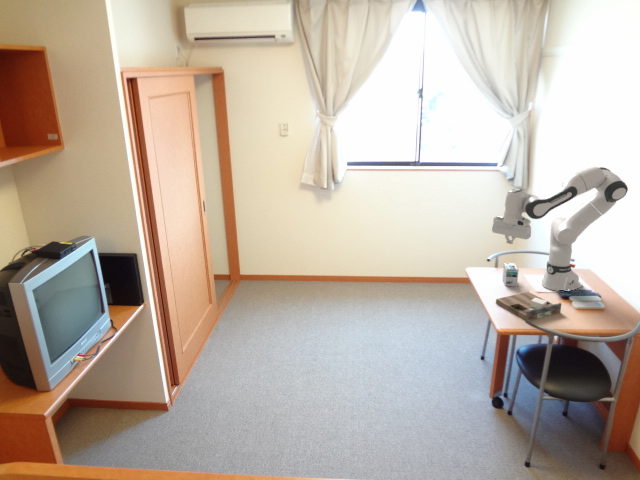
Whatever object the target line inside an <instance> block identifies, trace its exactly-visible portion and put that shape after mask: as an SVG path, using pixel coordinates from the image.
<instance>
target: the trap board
mask: <svg viewBox="0 0 640 480" xmlns="http://www.w3.org/2000/svg"><path fill="white" fill-rule="evenodd" d="M534 298H539V299H542V300H545V299H543V298H541V297H539V296H537V295H536V294H534V293H532V292H530V291H524V292H521V293H516V294H511V295H508V296H504V297H500V298H496V299H495V304H496V305H498V306H500V307H502V308H503V309H505V310H507V311H508V312H510V313H512V314H514V315H516V316H517V317H519V318H521V319H522V320H524V321H526V320H530V321H533V320H537V319H540V318H544V317H548V316H553V315H556V314H559V313H561V312H562V311H561V309H562V302H558V303H554V304H553V303H551V302H550V301H547V300H545V301H547V305H546V307H542V308H538V309H536V308H533V307H530V305H531V300H533V299H534Z"/></svg>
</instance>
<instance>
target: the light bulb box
mask: <svg viewBox="0 0 640 480" xmlns="http://www.w3.org/2000/svg"><path fill="white" fill-rule="evenodd" d="M518 277H519V267H518V266H517V264H516V263H515V262H504V263H503V270H502V282H503V284H504V286H505V287H517V286H518Z"/></svg>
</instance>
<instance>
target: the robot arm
mask: <svg viewBox="0 0 640 480" xmlns="http://www.w3.org/2000/svg"><path fill="white" fill-rule="evenodd" d="M593 189H595V190H596V191H597V192H596V193H595V194H594V195H592V196H591V197H589V198H588V199H586V200H585V201H584V202H582V203H581V204H580V205H579V206H577V207H576V208H575V209H574V210H573V211H572V213H571V214H570V215H569V216H568V217H567V218H565V217H556V218H555V219H554V220H553V221H552V222H551V225H550V236H549V237H550V238H549V252H548V260H547V262H546V268H545V272H544V274H543V278H542V279H541V286H542V287H544V288H545V289H548V290H552V291H557V292H560V291H559V290H561V289H562V290H568V289H570V290H573V289H576V290H577V288H578V289H580V288H582V287H583V286H584V285H583V283H582V282H580V281H579V279H580V278H579V275H578V274H577V273H576V272H574V270H573V269H574V268H575V267H576V264H574V263H571V260H572V259H571V258H572V253H573V250H572V248H573V247H572V244H574V243H575V242H576V240H577V238H579V236H580V235H581V234H583V232H584V231H585V230H586V229H587V228H588V227H589V226H591V225H592V224H593V223H594V222H595V221H597V220H598V219H600V218H601V217H602V216H604V215H605V214H606V213H607V212H608V211H610V210H611V208H612V207H614V206H615V205H616V204H617V201H618V202H619V200H621V199H623V198H624V197H625V196H626V195H627V193H628V191H629V189H628V185H627V184H626V183H625V181H623V180H622V179H621V177H619V176H618V175H617V174H615V173H614V172H612V171H611V170H610V169H609V168H606V167H597V166H593V167H589V168H586V169H582V170H579V171H577V172H575V173H573V174H571V175H569V176H568V177H566V178H565V179H564V180H563V182H562V185H561V189H560V190H559V191H558V192H556V193H554V194H552V195H550V196H548V197H546V198H540V197H538V196H536V195H534V194H531V193H529V192H526V191H525V190H523V189H522V188H512V189H510V190H508V192H507V193H506V196H505V202H504V207H505V209H504V212H503V216H499V215H497V216H495V217H494V218H492V219H493V224H492V226H491V227H492V228H491V232H492V233H494V234H499V235H503V236H504V238H505V240H506V244H508V245H513V244H514V241H515V239H516V238H518V239H522V240H526V241H527V240H529V239H530V238H531V234H532V227H531V219H532V220H540V219H542V218H544V217H545V216H547V214H548V213H550V212H551V211H552V210H554V209H556V208H557V207H560V206H561V205H564V204H565V203H567V202H569V201H571V200H573V199H574V198H576V197H578V196H580V195H583V194H585V193H587V192H589V191H591V190H593ZM524 213H525V214H527V216H528V217H529V218H531V219H528V218H526V217H525V216H523V214H524ZM510 237H511V239H510ZM572 268H573V269H572ZM573 291H574V290H573Z"/></svg>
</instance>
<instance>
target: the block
mask: <svg viewBox="0 0 640 480" xmlns="http://www.w3.org/2000/svg"><path fill="white" fill-rule="evenodd" d="M542 299H543V298H542ZM542 299H539V298H534V299H533V300H531V305H530V307H533V308H536V309H538V308H542V307H546V305H547V300H546V301H545V299H544V300H542Z"/></svg>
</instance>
